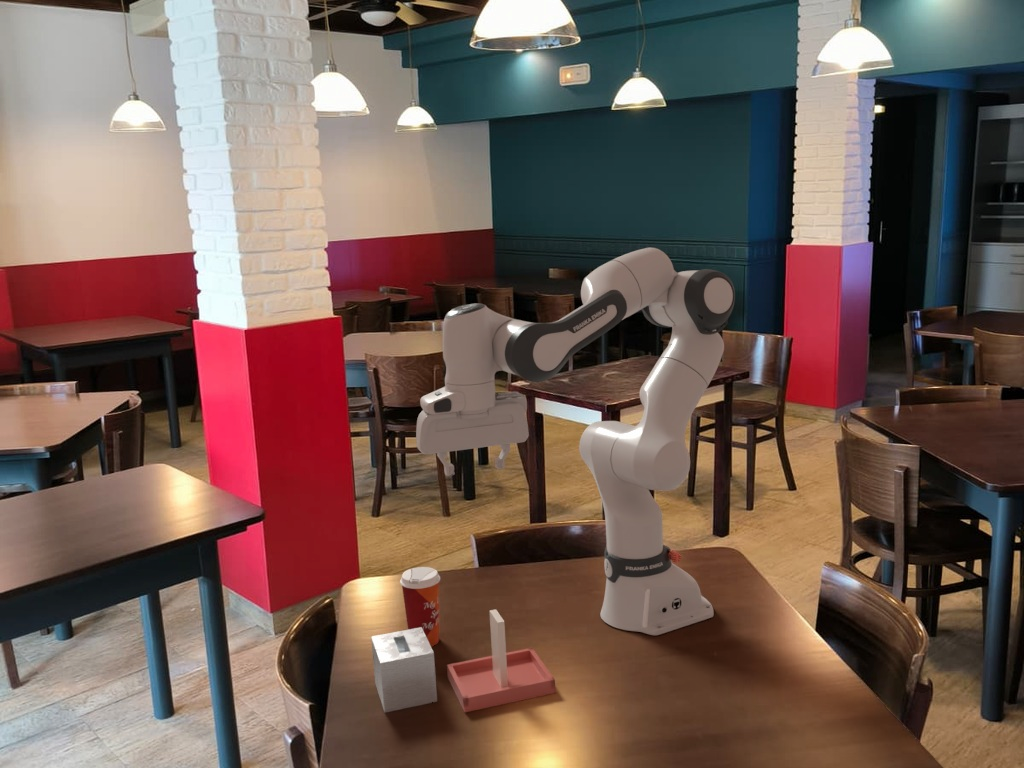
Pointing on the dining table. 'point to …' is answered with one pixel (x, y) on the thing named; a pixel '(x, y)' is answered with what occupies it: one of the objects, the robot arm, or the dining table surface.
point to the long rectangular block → (498, 648)
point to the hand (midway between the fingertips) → (475, 471)
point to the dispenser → (404, 669)
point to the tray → (484, 690)
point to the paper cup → (422, 601)
